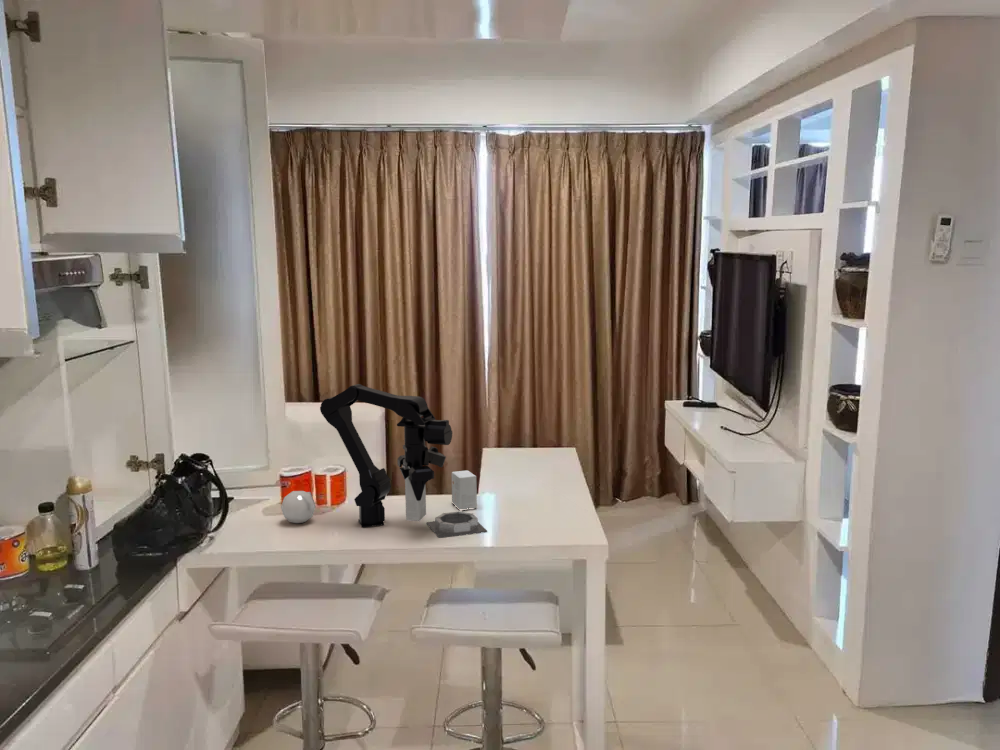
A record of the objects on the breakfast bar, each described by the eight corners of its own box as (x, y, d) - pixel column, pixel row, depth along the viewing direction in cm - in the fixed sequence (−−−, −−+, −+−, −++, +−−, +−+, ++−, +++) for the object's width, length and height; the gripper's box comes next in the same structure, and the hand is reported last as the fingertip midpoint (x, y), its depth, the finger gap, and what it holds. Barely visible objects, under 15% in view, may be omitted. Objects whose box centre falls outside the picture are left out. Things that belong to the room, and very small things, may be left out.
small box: (477, 509, 230) (476, 476, 229) (459, 511, 228) (459, 477, 227) (468, 502, 238) (468, 469, 236) (451, 504, 236) (451, 471, 234)
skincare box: (412, 513, 216) (411, 473, 214) (426, 514, 215) (425, 473, 213) (405, 520, 210) (404, 478, 208) (419, 521, 209) (419, 479, 207)
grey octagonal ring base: (438, 538, 205) (438, 528, 205) (426, 523, 217) (426, 514, 217) (487, 532, 210) (487, 522, 210) (472, 518, 222) (472, 508, 222)
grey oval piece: (290, 533, 213) (300, 522, 228) (319, 512, 213) (326, 503, 228) (270, 507, 212) (281, 498, 227) (299, 486, 213) (308, 478, 228)
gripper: (452, 447, 203) (452, 503, 205) (434, 433, 221) (434, 485, 223) (411, 450, 200) (412, 507, 202) (396, 436, 217) (397, 489, 219)
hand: (415, 496), depth 211 cm, fingers closed on skincare box, 7 cm apart
